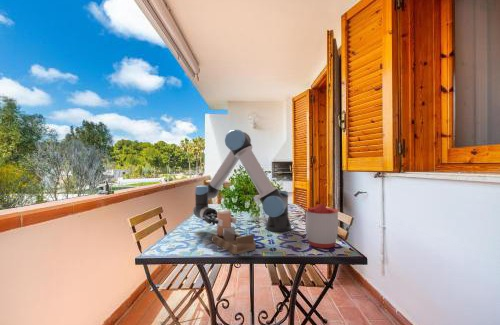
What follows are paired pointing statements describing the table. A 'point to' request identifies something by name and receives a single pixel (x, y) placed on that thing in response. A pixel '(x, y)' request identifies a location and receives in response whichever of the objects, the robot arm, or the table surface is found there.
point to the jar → (226, 218)
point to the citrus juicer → (321, 226)
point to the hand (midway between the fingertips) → (229, 222)
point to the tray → (236, 243)
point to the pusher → (229, 234)
